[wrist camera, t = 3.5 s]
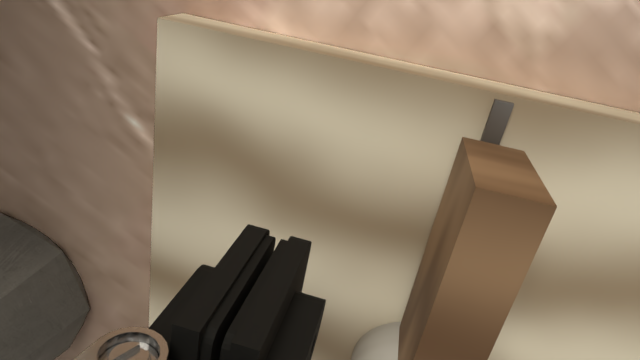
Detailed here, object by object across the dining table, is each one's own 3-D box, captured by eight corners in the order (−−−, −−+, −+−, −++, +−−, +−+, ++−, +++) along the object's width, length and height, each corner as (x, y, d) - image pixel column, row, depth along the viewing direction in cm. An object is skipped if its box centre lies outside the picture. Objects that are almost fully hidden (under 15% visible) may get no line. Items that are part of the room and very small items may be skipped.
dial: (450, 424, 21) (459, 556, 16) (340, 392, 21) (318, 511, 17) (568, 158, 15) (635, 240, 11) (416, 123, 16) (416, 187, 11)
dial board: (183, 13, 18) (154, 18, 16) (855, 159, 16) (918, 187, 14) (162, 427, 28) (143, 461, 26) (567, 552, 26) (580, 600, 24)
